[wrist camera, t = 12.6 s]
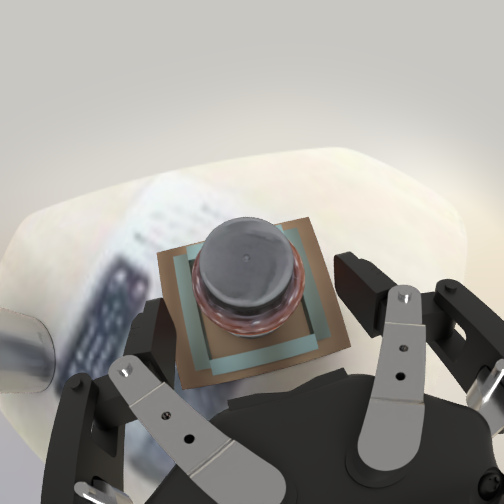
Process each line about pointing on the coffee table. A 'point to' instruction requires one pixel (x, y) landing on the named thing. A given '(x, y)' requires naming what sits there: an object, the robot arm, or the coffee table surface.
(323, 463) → the robot arm
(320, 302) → the walnut foundation
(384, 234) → the coffee table surface
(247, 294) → the supplement bottle
